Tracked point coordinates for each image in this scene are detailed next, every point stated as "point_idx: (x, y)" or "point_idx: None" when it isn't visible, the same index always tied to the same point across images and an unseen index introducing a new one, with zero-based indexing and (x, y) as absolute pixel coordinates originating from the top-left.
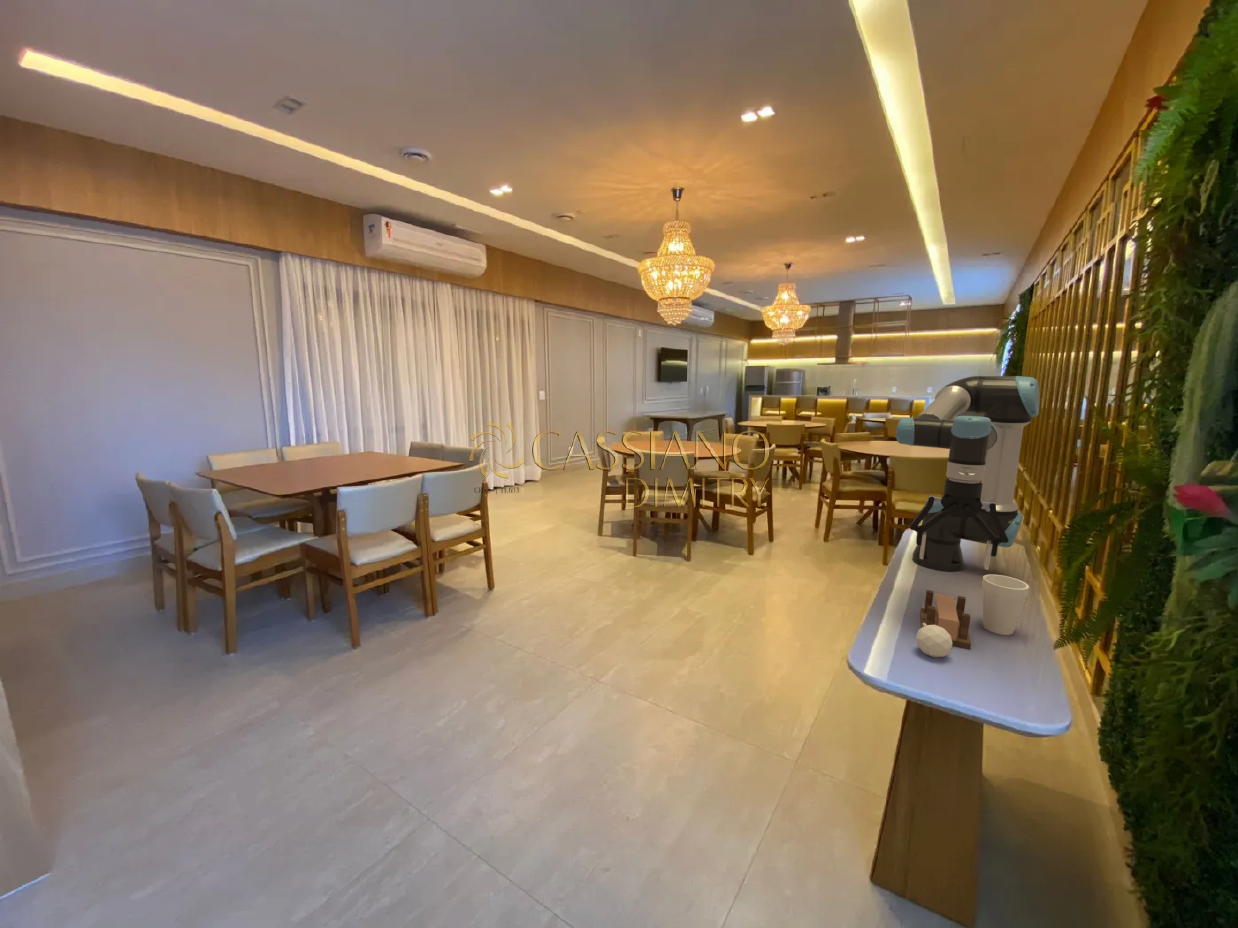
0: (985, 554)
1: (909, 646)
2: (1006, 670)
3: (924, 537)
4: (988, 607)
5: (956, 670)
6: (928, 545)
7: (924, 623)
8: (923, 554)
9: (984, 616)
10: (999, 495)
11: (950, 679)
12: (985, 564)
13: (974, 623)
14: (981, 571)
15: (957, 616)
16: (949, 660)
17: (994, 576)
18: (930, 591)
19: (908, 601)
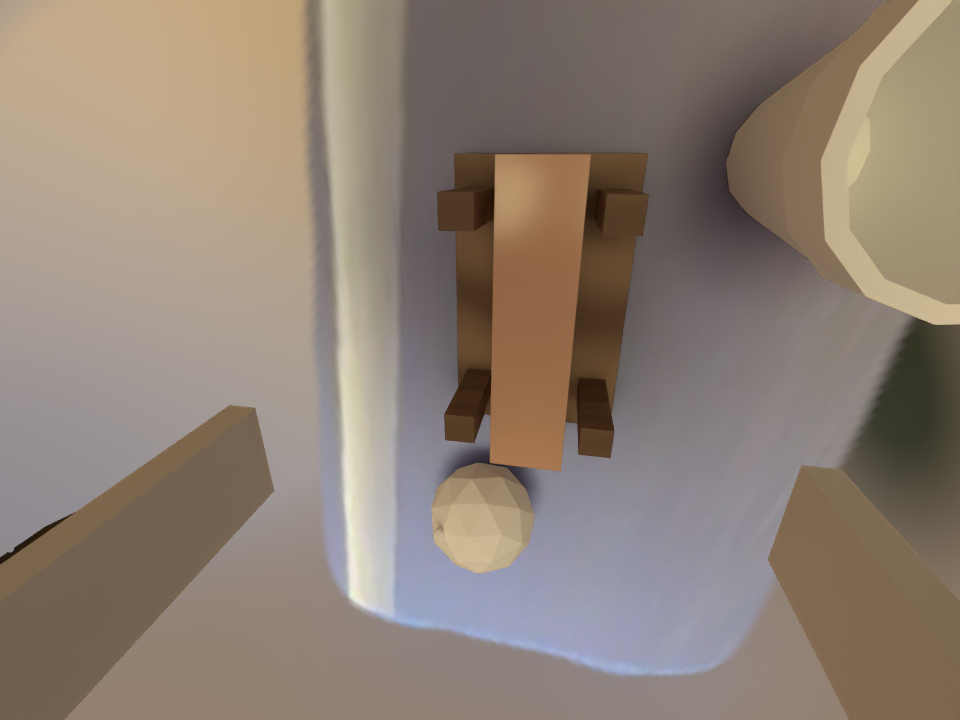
0: (885, 620)
1: (431, 463)
2: (686, 498)
3: (50, 715)
4: (766, 219)
5: (543, 539)
6: None
7: (436, 541)
8: (242, 523)
9: (739, 179)
10: None
11: (523, 579)
12: (791, 603)
13: (691, 148)
14: None
15: (564, 422)
16: (532, 498)
17: None
18: (458, 209)
19: (407, 23)
